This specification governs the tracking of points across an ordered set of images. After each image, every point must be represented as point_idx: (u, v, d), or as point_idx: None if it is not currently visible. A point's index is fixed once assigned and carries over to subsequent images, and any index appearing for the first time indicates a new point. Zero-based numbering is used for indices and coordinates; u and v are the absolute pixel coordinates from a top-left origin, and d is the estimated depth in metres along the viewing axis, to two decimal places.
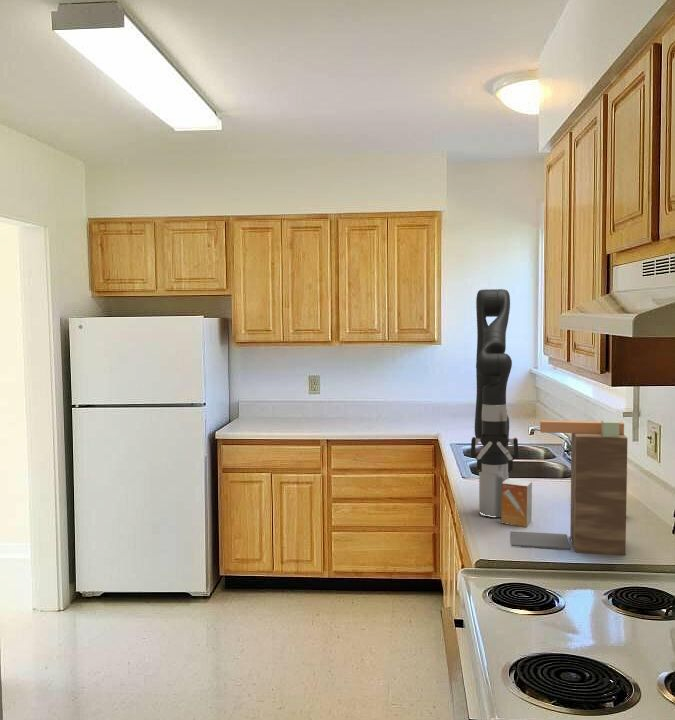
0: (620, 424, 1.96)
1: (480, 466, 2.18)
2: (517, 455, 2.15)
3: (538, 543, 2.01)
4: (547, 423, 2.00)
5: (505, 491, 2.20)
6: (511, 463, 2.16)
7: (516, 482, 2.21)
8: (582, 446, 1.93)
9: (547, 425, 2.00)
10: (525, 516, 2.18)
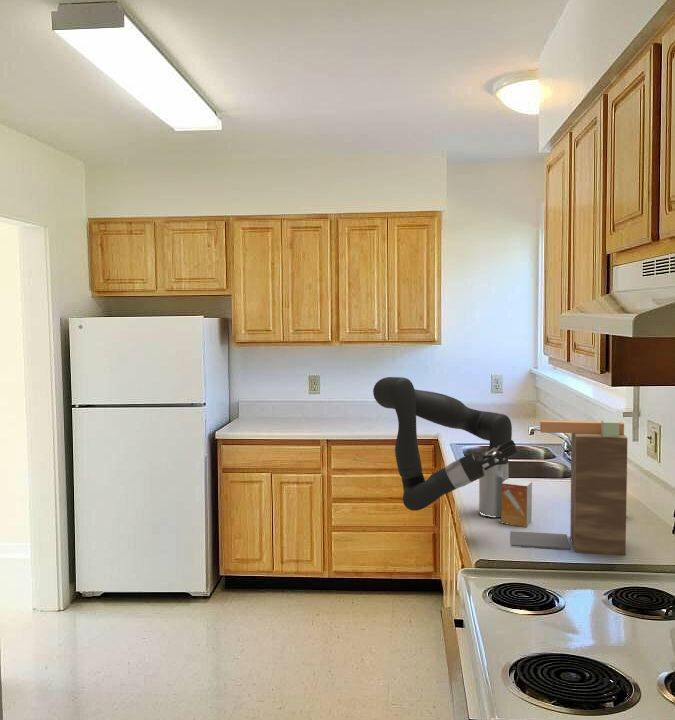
0: (620, 424, 1.96)
1: None
2: (500, 462, 1.99)
3: (538, 543, 2.01)
4: (547, 423, 2.00)
5: (505, 491, 2.20)
6: (507, 455, 2.00)
7: (516, 482, 2.21)
8: (582, 446, 1.93)
9: (547, 425, 2.00)
10: (525, 516, 2.18)
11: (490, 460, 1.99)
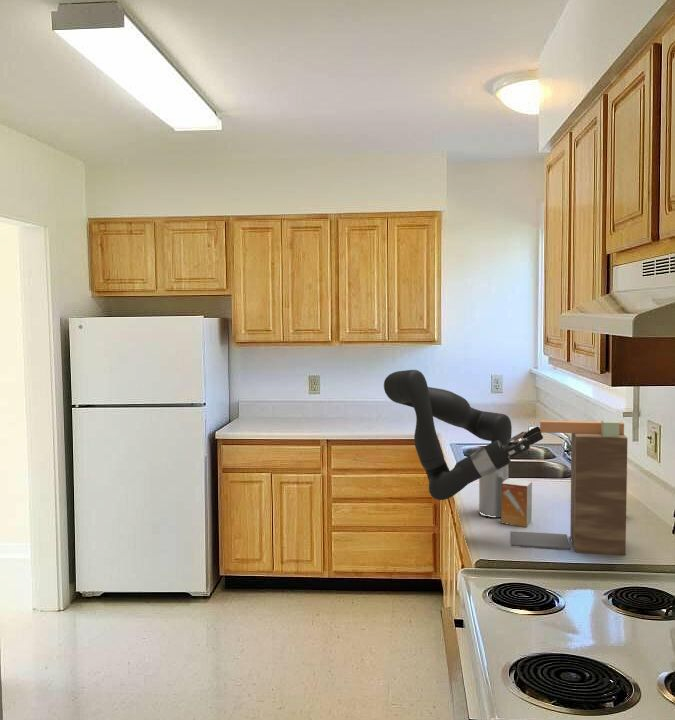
0: (620, 424, 1.96)
1: None
2: (527, 449, 1.97)
3: (538, 543, 2.01)
4: (547, 423, 2.00)
5: (505, 491, 2.20)
6: (534, 442, 1.98)
7: (516, 482, 2.21)
8: (582, 446, 1.93)
9: (547, 425, 2.00)
10: (525, 516, 2.18)
11: (516, 447, 1.97)
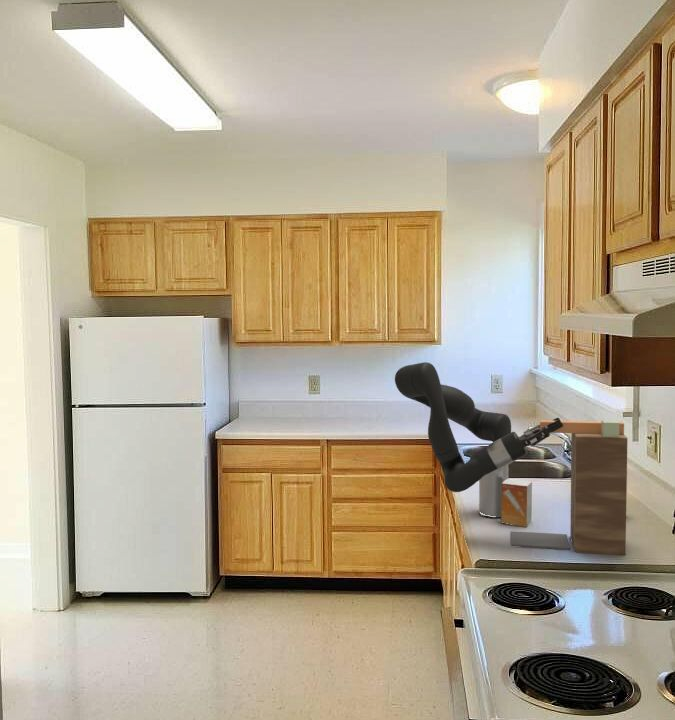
0: (620, 424, 1.96)
1: None
2: (547, 436, 1.98)
3: (538, 543, 2.01)
4: (547, 423, 2.00)
5: (505, 491, 2.20)
6: (554, 429, 1.99)
7: (516, 482, 2.21)
8: (582, 446, 1.93)
9: (547, 425, 2.00)
10: (525, 516, 2.18)
11: (538, 435, 1.97)
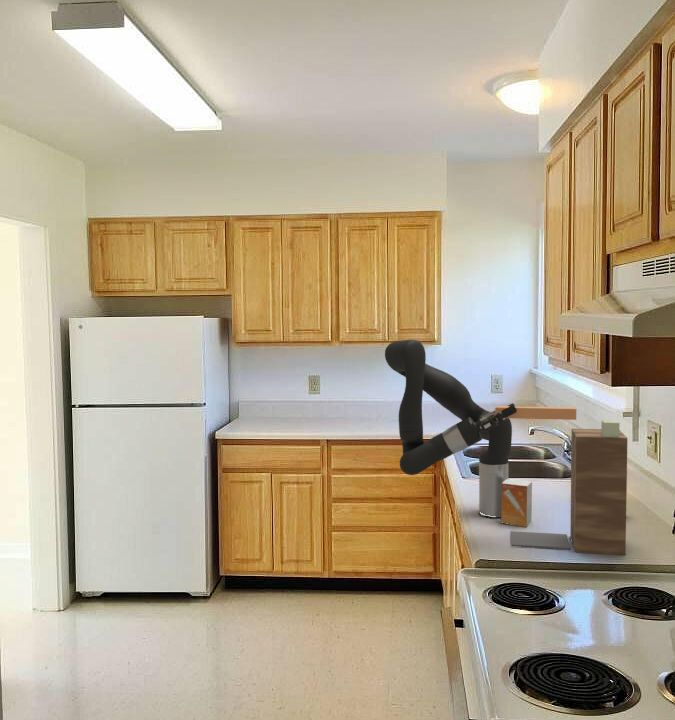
0: (572, 409, 1.98)
1: None
2: (501, 422, 2.00)
3: (538, 543, 2.01)
4: (501, 408, 2.02)
5: (505, 491, 2.20)
6: (507, 415, 2.01)
7: (516, 482, 2.21)
8: (582, 446, 1.93)
9: (501, 410, 2.03)
10: (525, 516, 2.18)
11: (492, 420, 1.99)
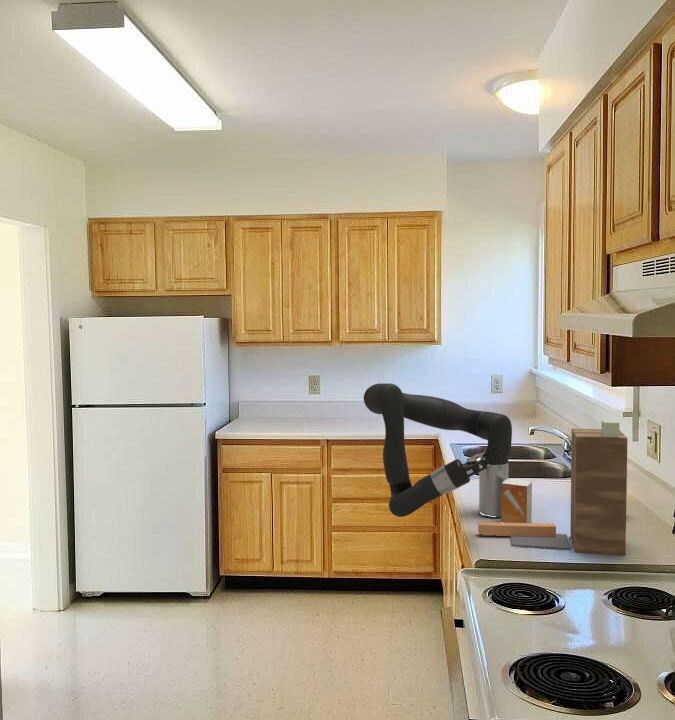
0: None
1: None
2: (484, 469, 2.00)
3: (538, 543, 2.01)
4: (484, 522, 2.12)
5: (505, 491, 2.20)
6: (491, 461, 2.01)
7: (516, 482, 2.21)
8: (582, 446, 1.93)
9: (484, 523, 2.11)
10: (525, 516, 2.18)
11: (474, 467, 2.00)
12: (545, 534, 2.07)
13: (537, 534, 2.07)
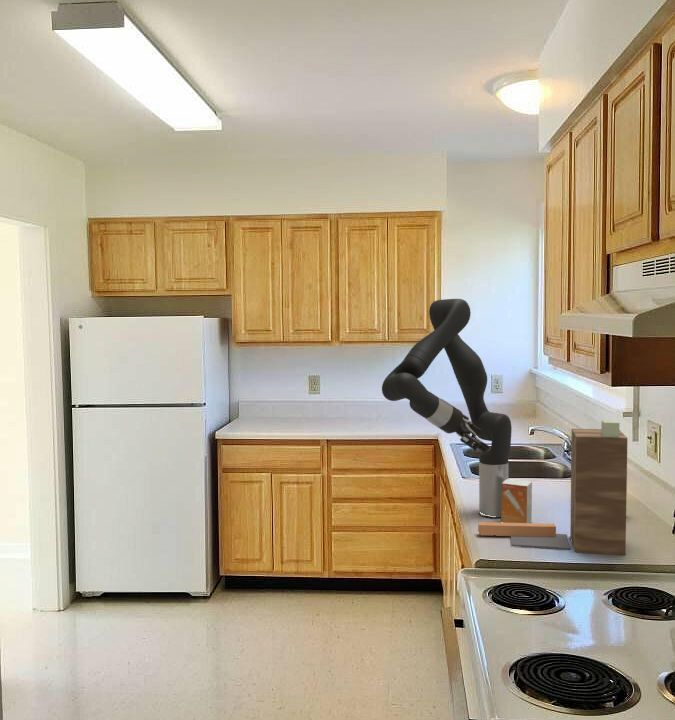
0: None
1: None
2: (473, 448, 2.02)
3: (538, 543, 2.01)
4: (484, 522, 2.12)
5: (505, 491, 2.20)
6: None
7: (516, 482, 2.21)
8: (582, 446, 1.93)
9: (484, 523, 2.11)
10: (525, 516, 2.18)
11: (472, 441, 2.00)
12: (545, 534, 2.07)
13: (537, 534, 2.07)
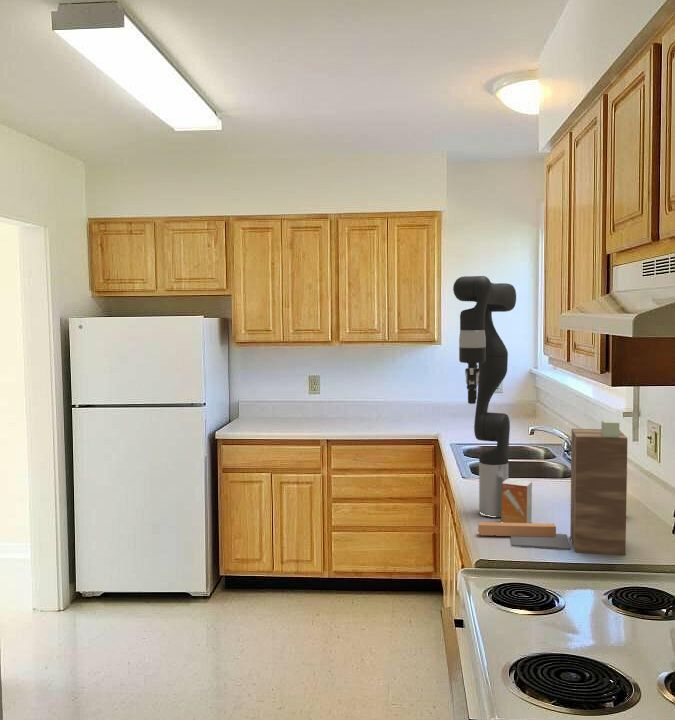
0: None
1: None
2: (467, 385, 2.00)
3: (538, 543, 2.01)
4: (484, 522, 2.12)
5: (505, 491, 2.20)
6: (469, 394, 2.02)
7: (516, 482, 2.21)
8: (582, 446, 1.93)
9: (484, 523, 2.11)
10: (525, 516, 2.18)
11: (473, 378, 1.99)
12: (545, 534, 2.07)
13: (537, 534, 2.07)
